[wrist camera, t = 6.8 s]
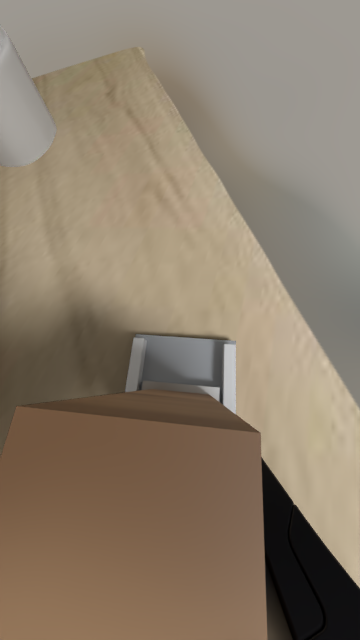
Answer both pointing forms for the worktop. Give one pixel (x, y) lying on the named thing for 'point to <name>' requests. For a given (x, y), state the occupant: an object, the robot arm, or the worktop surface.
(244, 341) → the worktop surface
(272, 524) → the robot arm
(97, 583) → the brown rectangular block
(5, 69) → the lumpy-topped squat cylinder
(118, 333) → the worktop surface
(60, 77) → the worktop surface
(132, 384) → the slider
